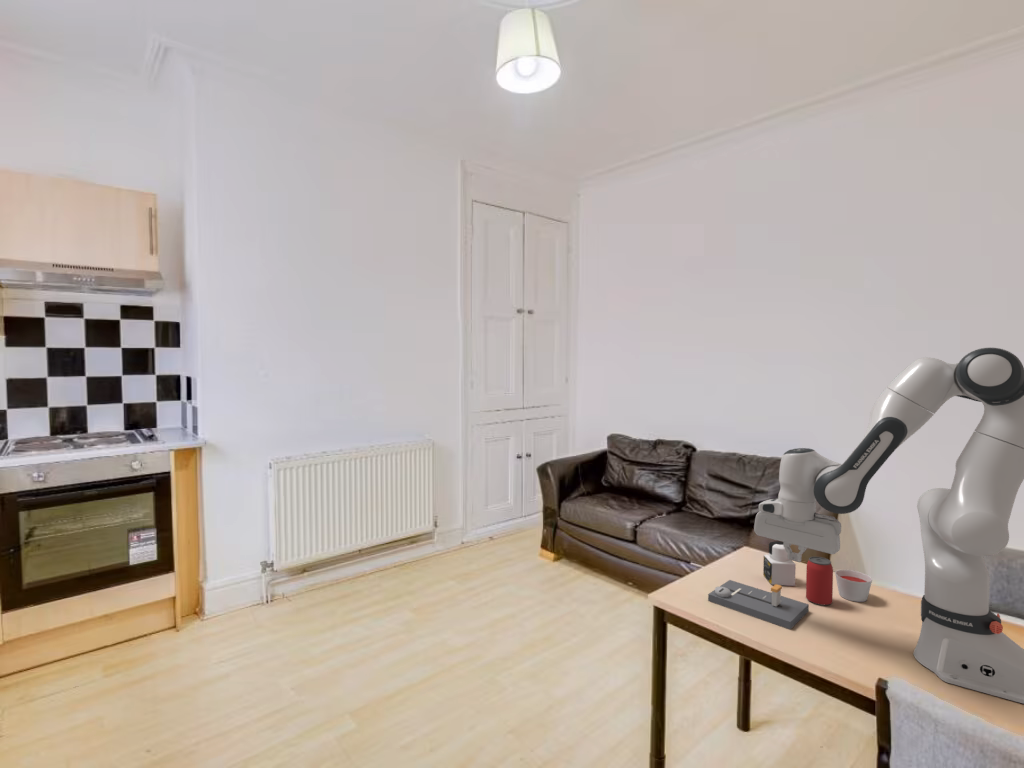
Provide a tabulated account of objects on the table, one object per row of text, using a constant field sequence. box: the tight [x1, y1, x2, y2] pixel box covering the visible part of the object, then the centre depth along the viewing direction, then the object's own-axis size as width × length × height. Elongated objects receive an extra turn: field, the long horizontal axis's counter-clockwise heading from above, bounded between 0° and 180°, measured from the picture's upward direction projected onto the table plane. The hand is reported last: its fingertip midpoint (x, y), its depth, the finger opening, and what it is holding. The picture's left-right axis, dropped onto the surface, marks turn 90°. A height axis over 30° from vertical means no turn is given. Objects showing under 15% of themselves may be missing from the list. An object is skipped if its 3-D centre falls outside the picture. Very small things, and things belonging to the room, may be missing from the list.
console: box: [707, 579, 810, 630], centre depth 145 cm, size 22×14×4 cm, turn 43°
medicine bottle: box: [762, 540, 797, 587], centre depth 161 cm, size 7×7×12 cm
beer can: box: [805, 556, 834, 606], centre depth 148 cm, size 7×7×12 cm
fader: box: [770, 584, 783, 607], centre depth 141 cm, size 2×4×5 cm, turn 133°
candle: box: [834, 569, 873, 603], centre depth 150 cm, size 9×9×6 cm
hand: (794, 560), depth 137 cm, fingers closed
